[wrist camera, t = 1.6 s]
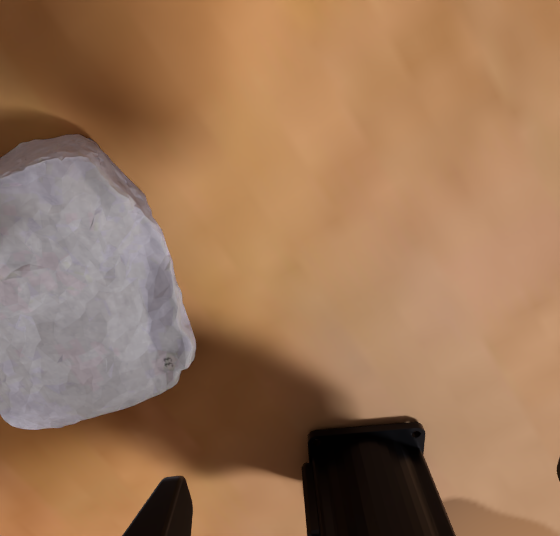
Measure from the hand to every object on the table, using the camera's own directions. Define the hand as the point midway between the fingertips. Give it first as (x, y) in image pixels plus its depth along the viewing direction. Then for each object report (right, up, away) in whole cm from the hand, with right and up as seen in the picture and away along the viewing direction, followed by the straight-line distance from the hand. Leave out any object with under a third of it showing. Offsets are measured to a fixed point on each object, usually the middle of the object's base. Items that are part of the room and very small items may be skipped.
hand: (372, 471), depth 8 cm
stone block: (-11, +4, +11) cm, 16 cm away
